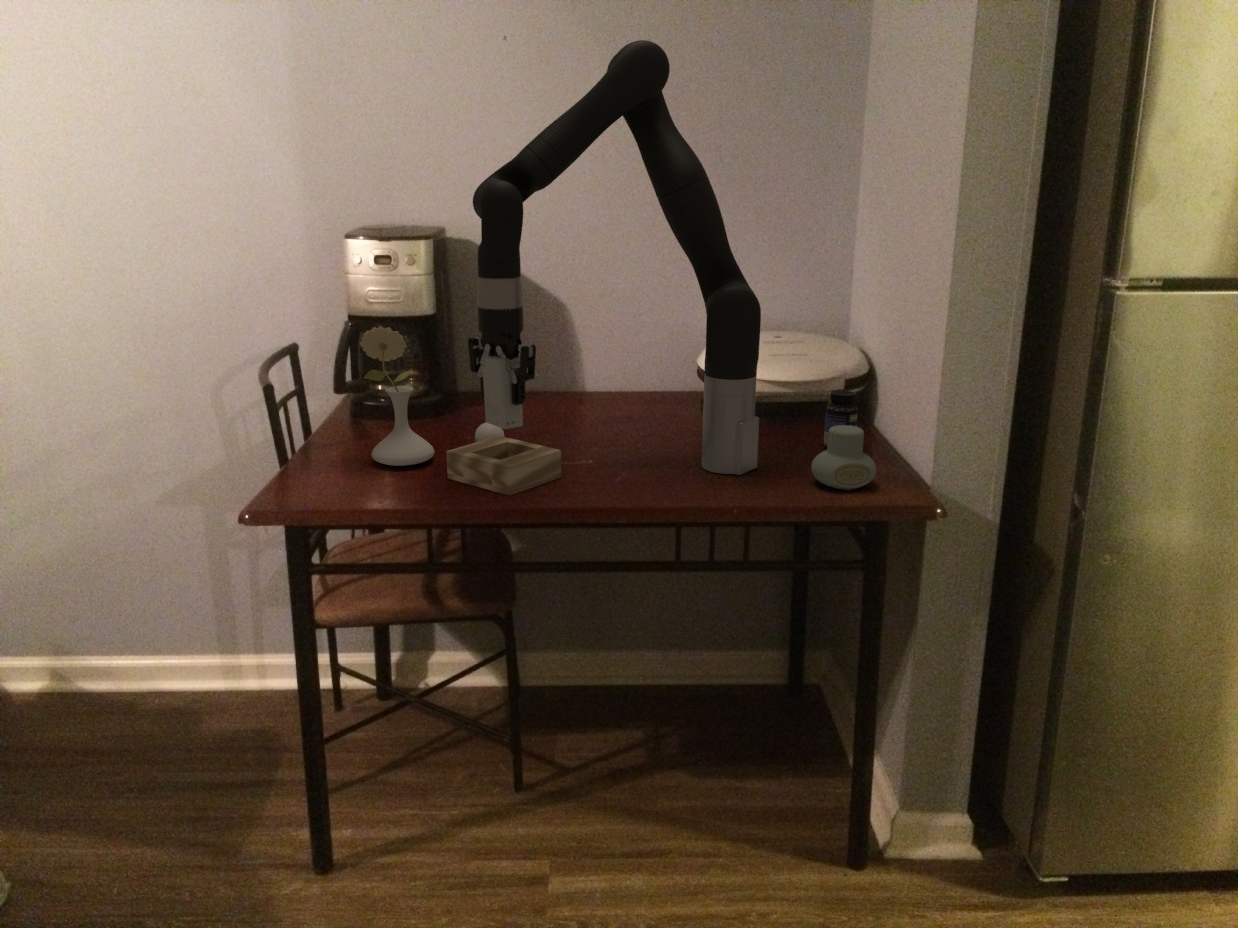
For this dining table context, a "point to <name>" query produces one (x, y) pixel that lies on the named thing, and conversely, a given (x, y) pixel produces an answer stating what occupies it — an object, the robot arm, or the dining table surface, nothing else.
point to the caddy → (504, 465)
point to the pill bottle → (840, 411)
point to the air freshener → (844, 460)
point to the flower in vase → (394, 402)
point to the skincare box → (500, 394)
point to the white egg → (487, 432)
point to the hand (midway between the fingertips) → (502, 400)
